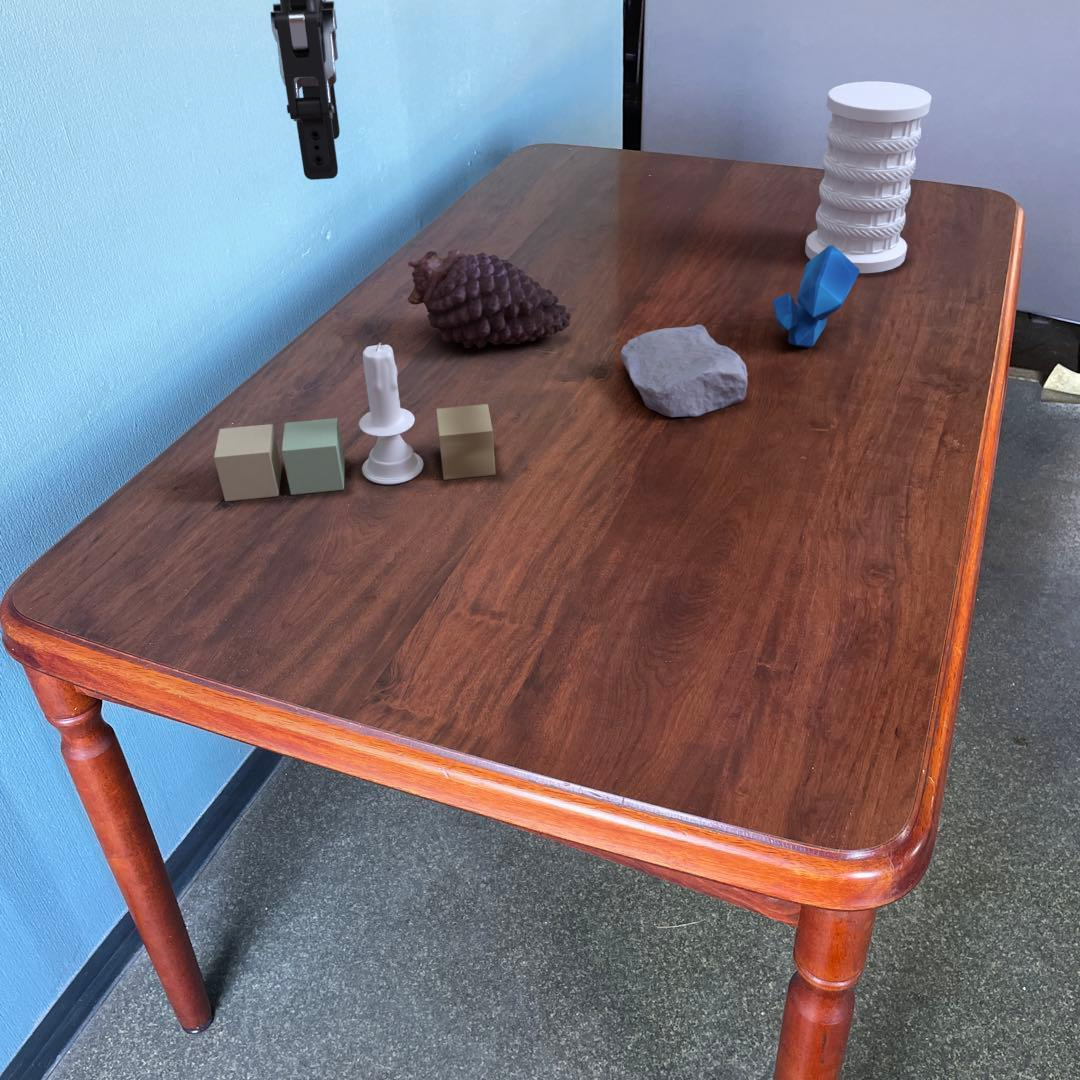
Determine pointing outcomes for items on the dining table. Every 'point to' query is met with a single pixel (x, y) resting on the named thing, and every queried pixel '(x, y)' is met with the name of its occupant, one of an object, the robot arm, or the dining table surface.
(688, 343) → the stone block
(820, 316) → the crystal
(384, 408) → the candle
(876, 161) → the decorative container
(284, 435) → the block
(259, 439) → the block
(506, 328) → the pine cone
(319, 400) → the dining table surface
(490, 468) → the block
